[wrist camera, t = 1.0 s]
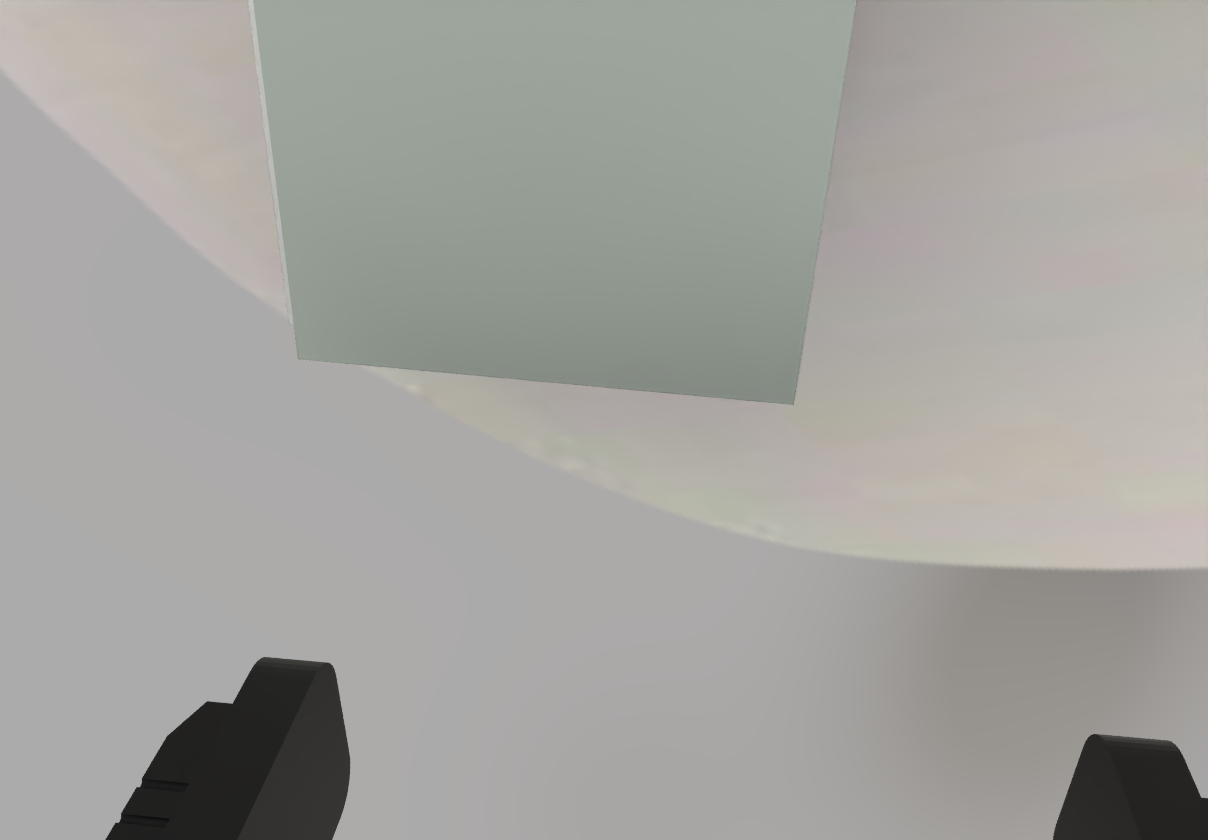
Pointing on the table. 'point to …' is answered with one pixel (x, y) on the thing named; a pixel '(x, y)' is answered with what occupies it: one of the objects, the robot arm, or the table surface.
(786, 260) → the cabinet
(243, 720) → the robot arm
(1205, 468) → the table surface
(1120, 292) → the table surface
